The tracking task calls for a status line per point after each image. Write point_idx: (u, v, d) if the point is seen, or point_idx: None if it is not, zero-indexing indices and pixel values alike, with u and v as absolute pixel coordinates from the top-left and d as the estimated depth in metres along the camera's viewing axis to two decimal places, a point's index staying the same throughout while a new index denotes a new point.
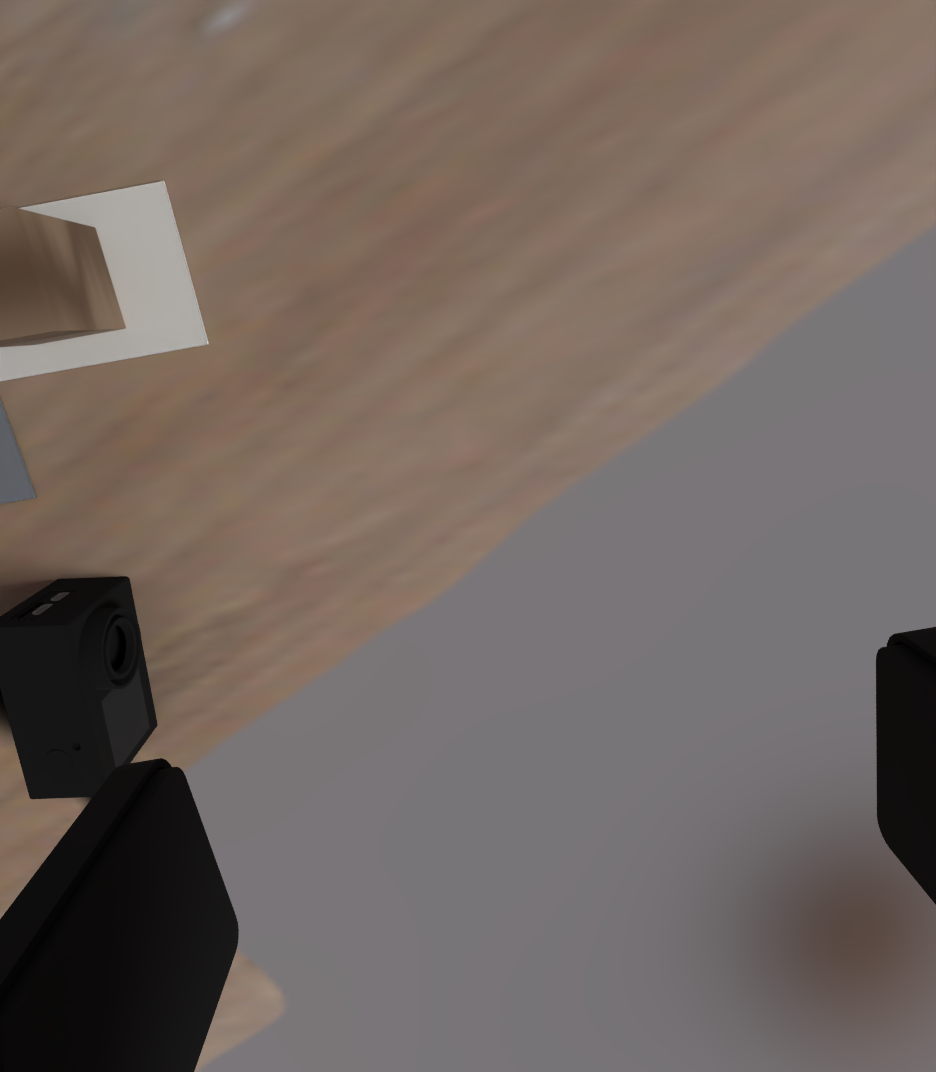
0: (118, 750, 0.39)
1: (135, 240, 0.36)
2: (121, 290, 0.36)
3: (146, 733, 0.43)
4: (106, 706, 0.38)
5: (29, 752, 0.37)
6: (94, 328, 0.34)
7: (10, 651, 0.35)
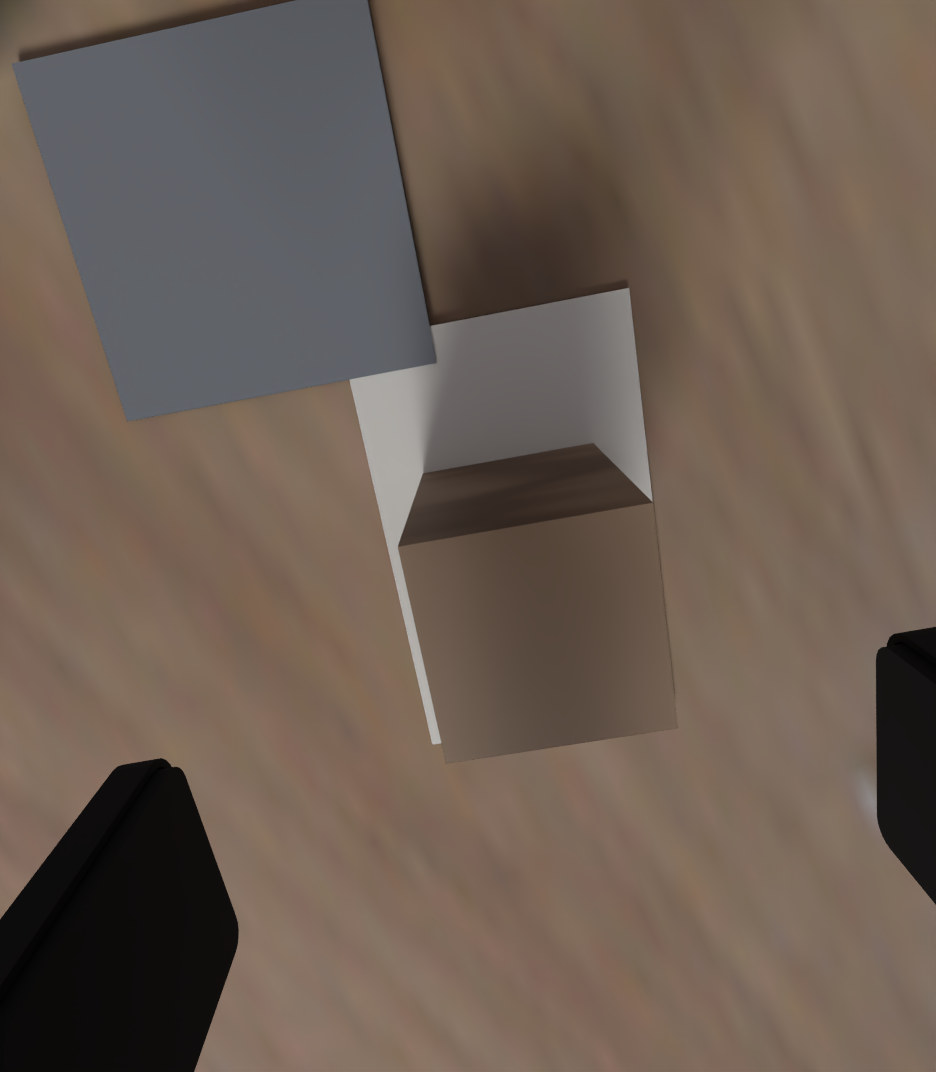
0: None
1: None
2: None
3: None
4: None
5: None
6: None
7: None
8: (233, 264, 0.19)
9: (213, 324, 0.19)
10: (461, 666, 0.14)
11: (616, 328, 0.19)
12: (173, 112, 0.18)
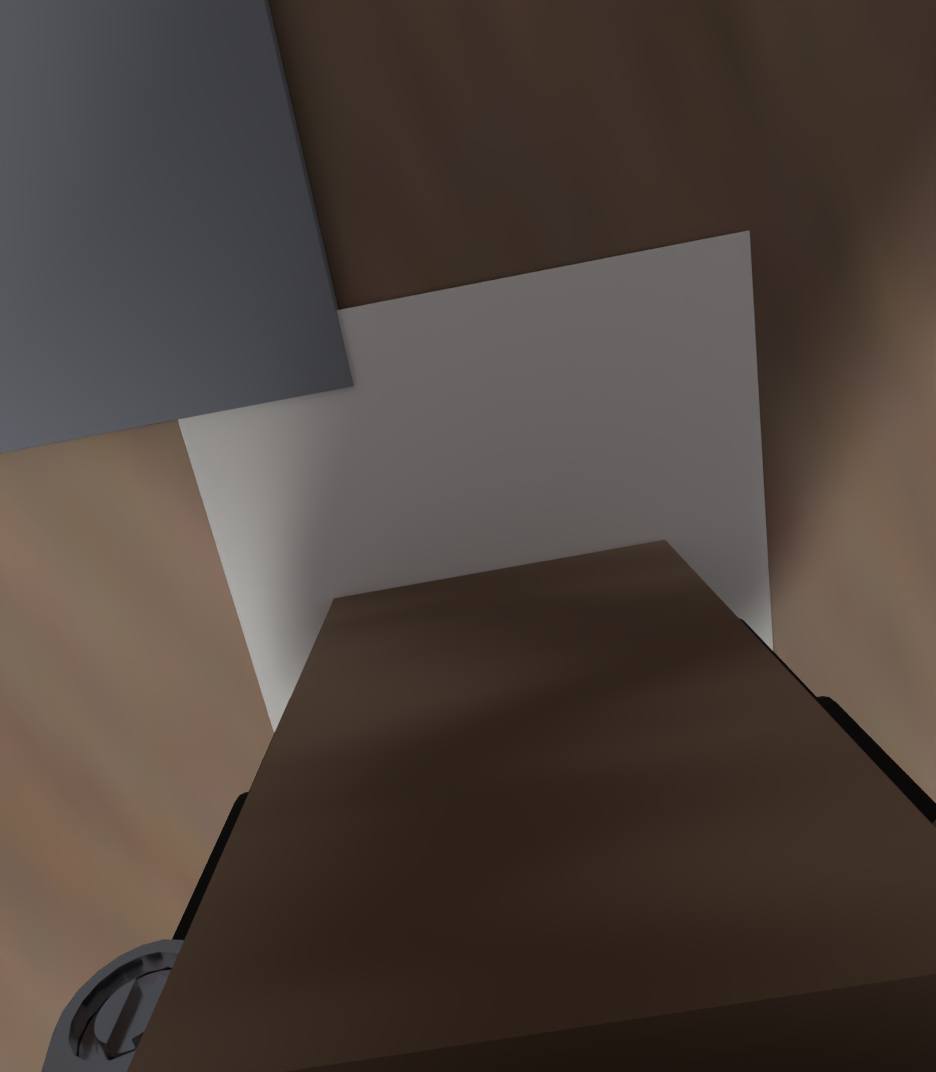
0: None
1: None
2: None
3: None
4: None
5: None
6: None
7: None
8: None
9: None
10: None
11: (719, 315, 0.09)
12: None
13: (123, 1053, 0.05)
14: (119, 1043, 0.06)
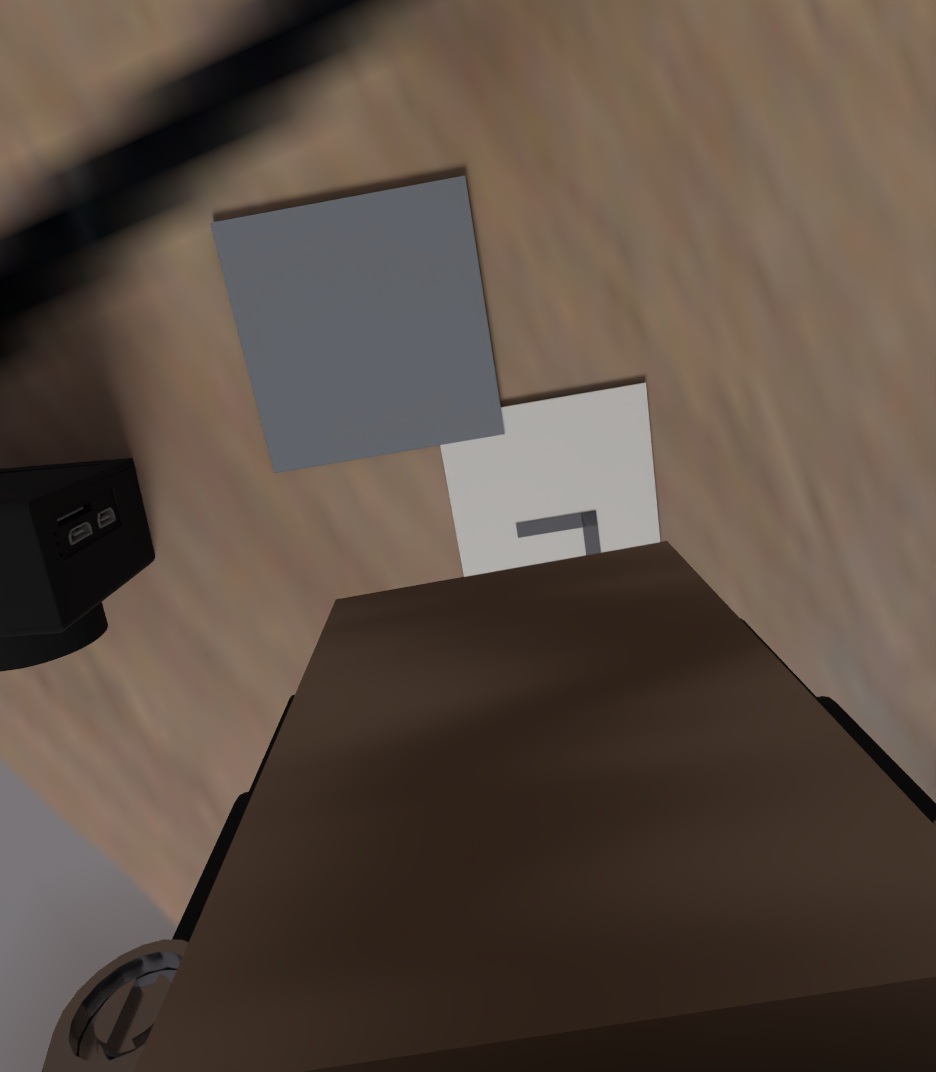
0: None
1: None
2: None
3: None
4: None
5: None
6: None
7: None
8: (360, 362, 0.26)
9: (343, 404, 0.26)
10: None
11: (636, 411, 0.26)
12: (323, 258, 0.25)
13: (123, 1053, 0.05)
14: (119, 1043, 0.06)
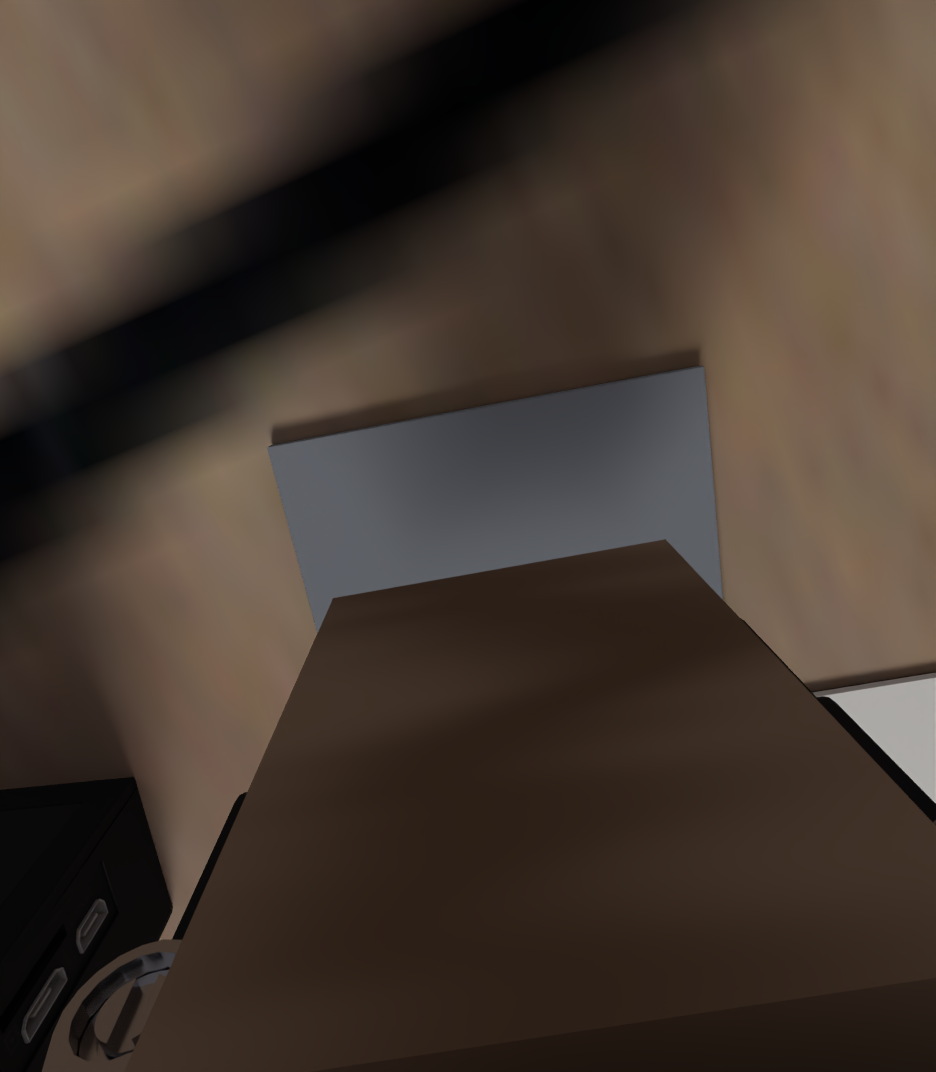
0: None
1: None
2: None
3: None
4: None
5: None
6: None
7: None
8: None
9: None
10: None
11: None
12: (456, 498, 0.15)
13: (123, 1053, 0.05)
14: (119, 1043, 0.06)
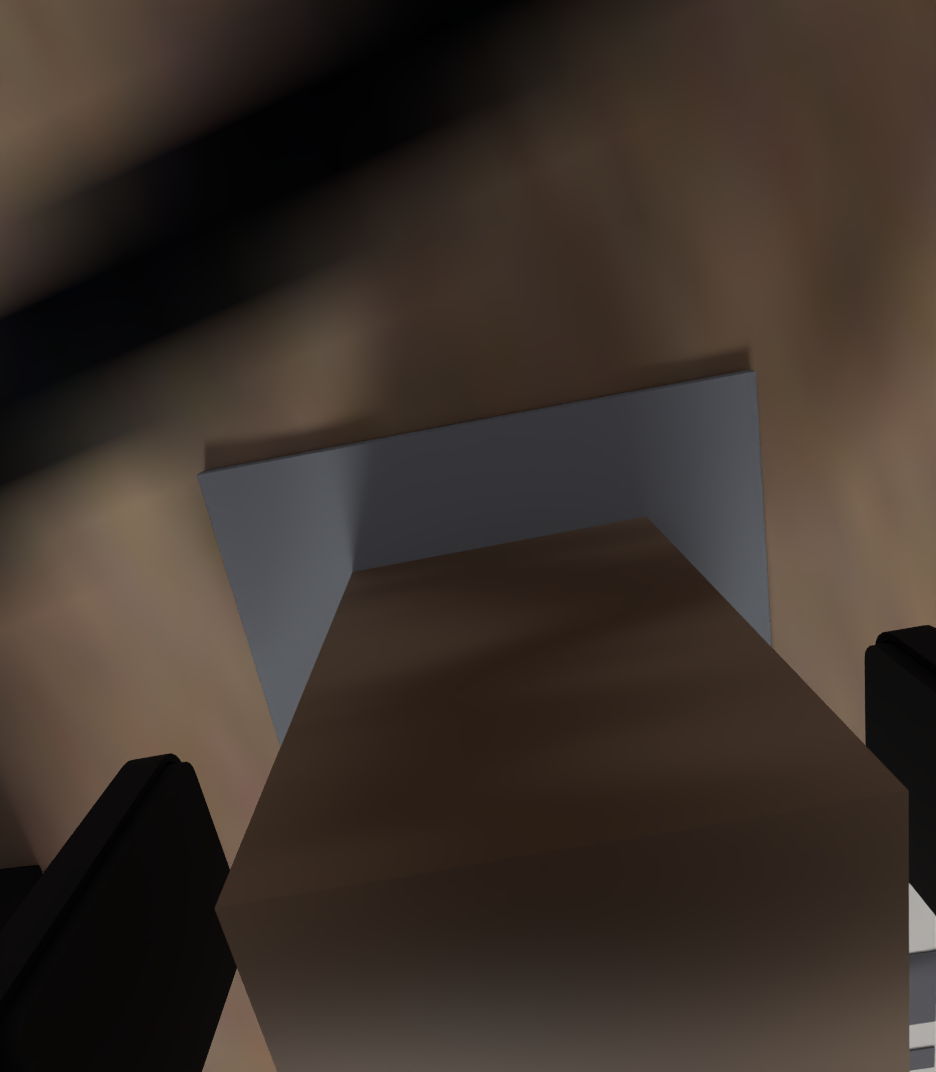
0: None
1: None
2: None
3: None
4: None
5: None
6: None
7: None
8: None
9: None
10: None
11: None
12: (439, 538, 0.12)
13: None
14: None
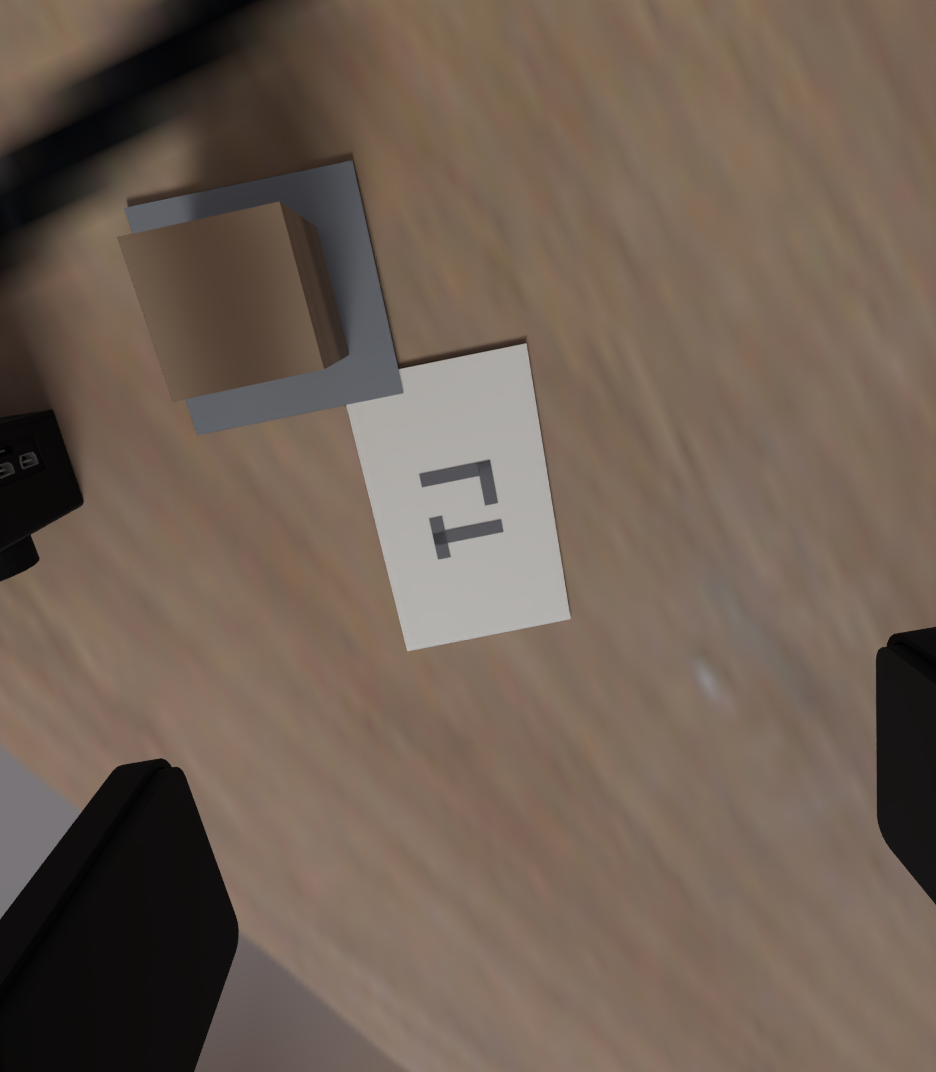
0: None
1: (513, 587, 0.33)
2: (461, 567, 0.32)
3: None
4: None
5: None
6: None
7: None
8: None
9: None
10: (172, 326, 0.22)
11: (519, 369, 0.30)
12: None
13: None
14: None
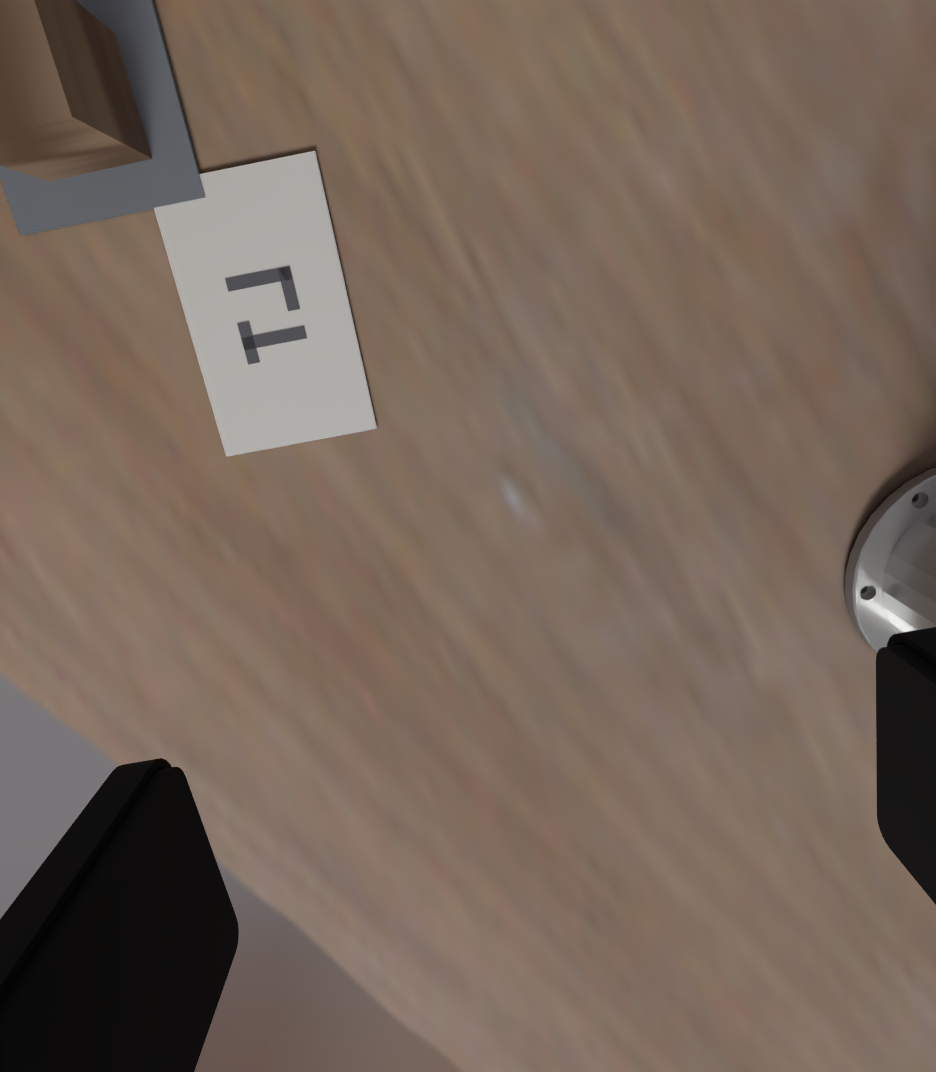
0: None
1: (320, 394, 0.35)
2: (270, 373, 0.35)
3: None
4: None
5: None
6: (4, 166, 0.29)
7: None
8: None
9: None
10: None
11: (310, 176, 0.32)
12: None
13: None
14: None
